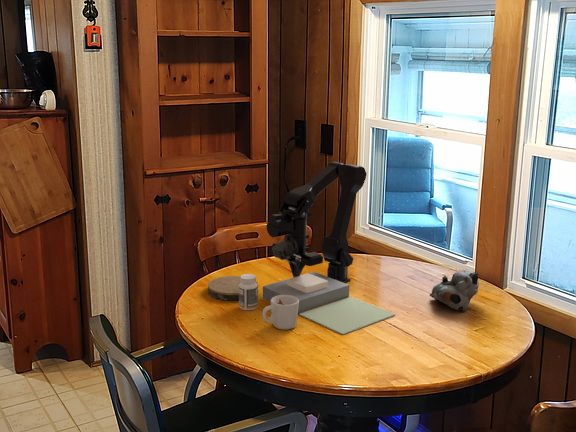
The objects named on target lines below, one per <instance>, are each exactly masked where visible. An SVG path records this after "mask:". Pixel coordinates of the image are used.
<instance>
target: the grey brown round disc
mask: <svg viewBox="0 0 576 432" xmlns="http://www.w3.org/2000/svg"><path fill="white" fill-rule="evenodd" d="M240 277H241V276H240V275H226V276H221V277H220V276H219V277H217V278H214V279H211V280H210V281H208V283H207V294H208V296H209V297H210V298H211V299H213V300H218V301H221V302H228V303H229V302H230V303H234V302H239V284H240V283H241V280H240ZM255 282H256V283H257V285H258V286H259V284H258V281H257V280H256V281H255Z"/></svg>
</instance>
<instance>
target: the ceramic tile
mask: <svg viewBox="0 0 576 432" xmlns="http://www.w3.org/2000/svg"><path fill="white" fill-rule="evenodd" d="M309 273H310V272H308V273H304V274H302V275H301V274H300V276H297V277H293V276H292V277H289V278H287V279H286V280H287V285H288V286H290V287H293V288H295V289H297V290H300V291H302V292H304V293H310V292H313V291H316V290H320V289H323V288H326V287H328V281H327V280H325V279H322V278H320V277H317V276H315V275H312V274H309Z"/></svg>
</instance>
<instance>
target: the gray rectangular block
mask: <svg viewBox="0 0 576 432" xmlns="http://www.w3.org/2000/svg"><path fill="white" fill-rule="evenodd" d="M308 273H309V274H312V275H315V276H317V277H320V278H322V279H325V280H327V281H328V287H326V288H323V289H320V290H316V291H313V292H310V293H304V292H302V291H300V290H297V289H295V288H293V287H290V286H288V285H287V279H284V280H280V281H277V282H273V283H270V284H266V285H264V286H262V299H264V300H265V301H268V302H269V303H271V299H272V298H273V297H275V296H278V295H290V296H294V297H296V298H298V299H299V307H298V314H300V313H303V312H306V311H309V310H312V309H315V308H318V307H321V306H325V305H328V304H331V303H334V302H337V301H340V300H343V299H346V298H349V297H350V284H349V283H346V282H344V283H343V282H340V281H337V280H335V279H332V278H330V277H327V275H324V274H321V273H318V272H316V271H312V272H308Z"/></svg>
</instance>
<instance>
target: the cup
mask: <svg viewBox="0 0 576 432" xmlns="http://www.w3.org/2000/svg"><path fill="white" fill-rule="evenodd" d="M298 307H299V299H298V298H296V297H294V296H290V295H278V296H275V297H273V298H272V299H271V302H270V305H267V306H264V308H263V310H262V313H261V314H262V319H263V321H264V322H266V323H272V325H273V326H274V327H275V328H277V329H280V330H283V331H284V330H286V331H287V330H291V329H293V328H295V326H296V325H297V320H298ZM268 311H270V312H271V313H270V317H269V318H268V317H267V312H268Z"/></svg>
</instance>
